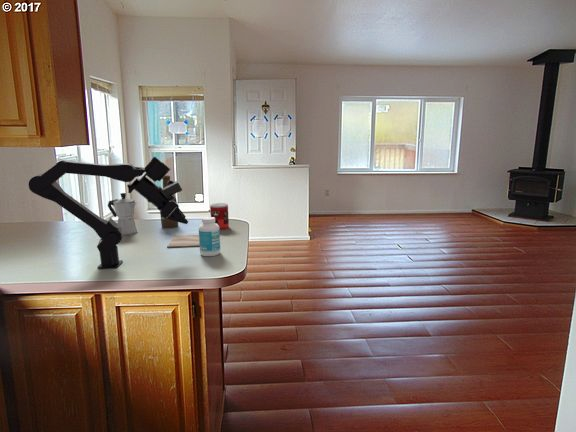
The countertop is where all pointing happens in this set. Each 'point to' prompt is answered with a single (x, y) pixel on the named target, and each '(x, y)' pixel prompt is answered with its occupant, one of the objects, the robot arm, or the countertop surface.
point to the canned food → (220, 214)
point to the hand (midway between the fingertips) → (186, 220)
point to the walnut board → (184, 241)
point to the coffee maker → (124, 213)
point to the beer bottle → (164, 222)
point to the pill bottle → (209, 237)
